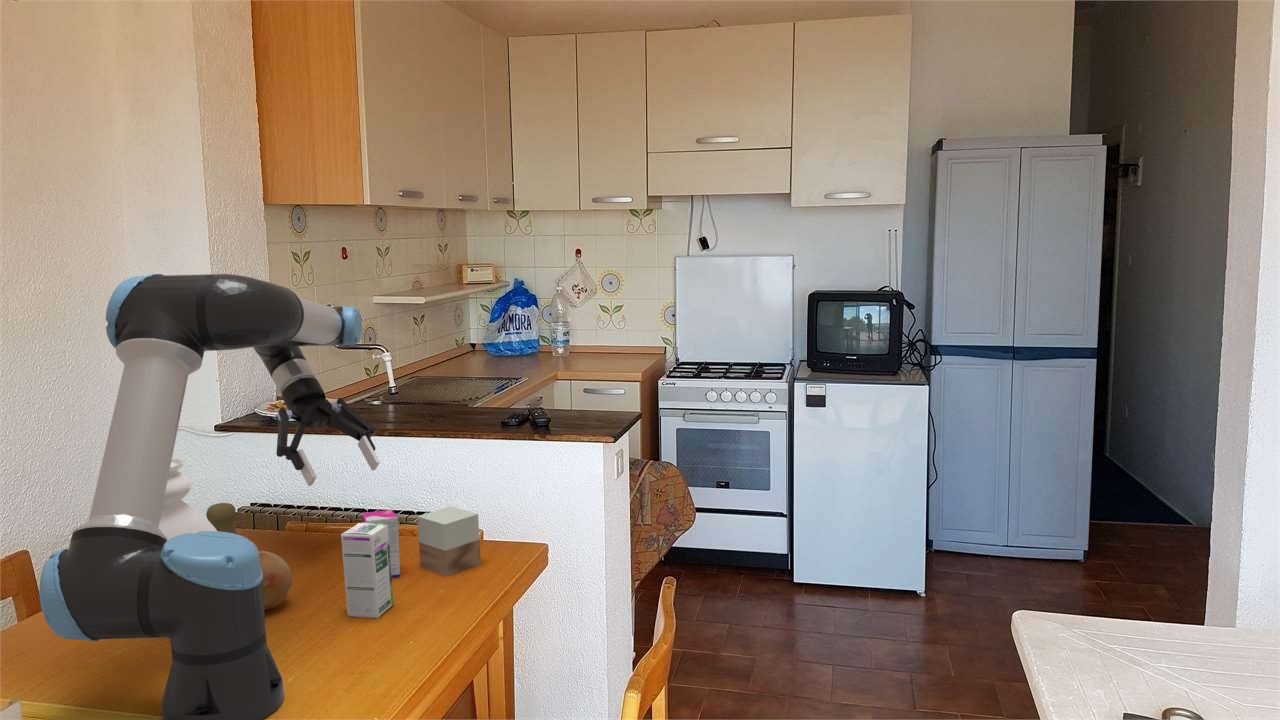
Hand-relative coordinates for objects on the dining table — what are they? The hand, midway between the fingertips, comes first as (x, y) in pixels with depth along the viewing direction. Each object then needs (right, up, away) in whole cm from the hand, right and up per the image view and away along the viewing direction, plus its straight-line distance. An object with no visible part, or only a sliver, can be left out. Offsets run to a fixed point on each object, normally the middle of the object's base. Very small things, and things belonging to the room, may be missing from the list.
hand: (345, 473), depth 183 cm
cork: (-25, -17, +4) cm, 30 cm away
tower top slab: (+20, -12, -2) cm, 24 cm away
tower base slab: (+20, -17, -1) cm, 27 cm away
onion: (-8, -21, -20) cm, 30 cm away
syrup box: (+11, -21, -22) cm, 32 cm away
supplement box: (+8, -18, -5) cm, 21 cm away
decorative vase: (-24, -21, -19) cm, 37 cm away
